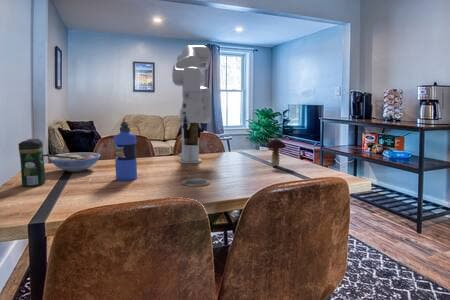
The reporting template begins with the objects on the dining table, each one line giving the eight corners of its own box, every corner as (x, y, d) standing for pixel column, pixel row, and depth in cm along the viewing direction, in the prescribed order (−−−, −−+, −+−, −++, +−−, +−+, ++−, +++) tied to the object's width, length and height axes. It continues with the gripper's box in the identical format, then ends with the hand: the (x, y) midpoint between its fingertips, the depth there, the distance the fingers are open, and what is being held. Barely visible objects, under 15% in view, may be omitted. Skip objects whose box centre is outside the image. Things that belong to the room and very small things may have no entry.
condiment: (195, 143, 148) (195, 117, 147) (202, 145, 141) (202, 117, 139) (180, 144, 145) (180, 117, 144) (186, 146, 138) (186, 117, 136)
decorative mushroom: (276, 169, 167) (277, 140, 165) (260, 166, 175) (261, 138, 173) (289, 166, 174) (290, 139, 172) (273, 163, 182) (274, 137, 180)
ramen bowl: (112, 168, 165) (112, 152, 164) (75, 178, 144) (73, 160, 143) (77, 164, 175) (76, 149, 174) (37, 172, 155) (36, 155, 154)
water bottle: (125, 182, 138) (123, 123, 135) (111, 179, 143) (108, 122, 140) (141, 177, 146) (140, 122, 142) (127, 175, 151) (125, 121, 147)
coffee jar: (27, 181, 137) (23, 138, 134) (48, 180, 139) (44, 137, 136) (18, 187, 128) (14, 140, 125) (41, 186, 130) (37, 140, 127)
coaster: (175, 183, 136) (175, 182, 136) (194, 178, 146) (194, 176, 146) (197, 188, 129) (197, 186, 129) (215, 182, 139) (215, 180, 139)
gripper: (185, 95, 132) (185, 140, 134) (211, 97, 146) (210, 137, 148) (171, 96, 136) (172, 139, 138) (198, 97, 150) (198, 136, 152)
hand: (192, 137), depth 143 cm, fingers closed on condiment, 6 cm apart
